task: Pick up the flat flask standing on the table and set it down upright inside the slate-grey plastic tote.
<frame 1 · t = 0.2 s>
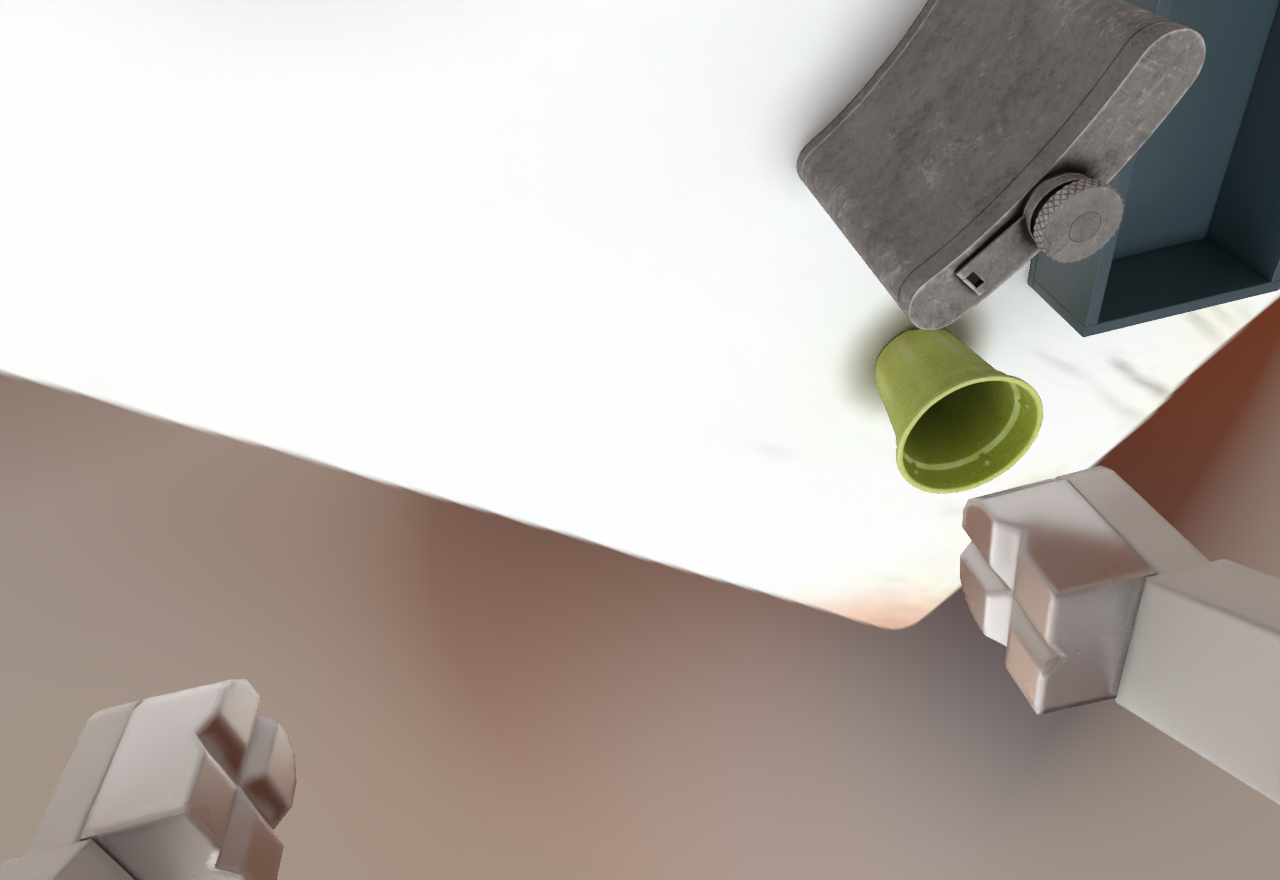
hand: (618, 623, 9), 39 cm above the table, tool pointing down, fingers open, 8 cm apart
flask: (895, 77, 46), on the table
plant pot: (912, 359, 59), on the table
tote: (1155, 102, 49), on the table
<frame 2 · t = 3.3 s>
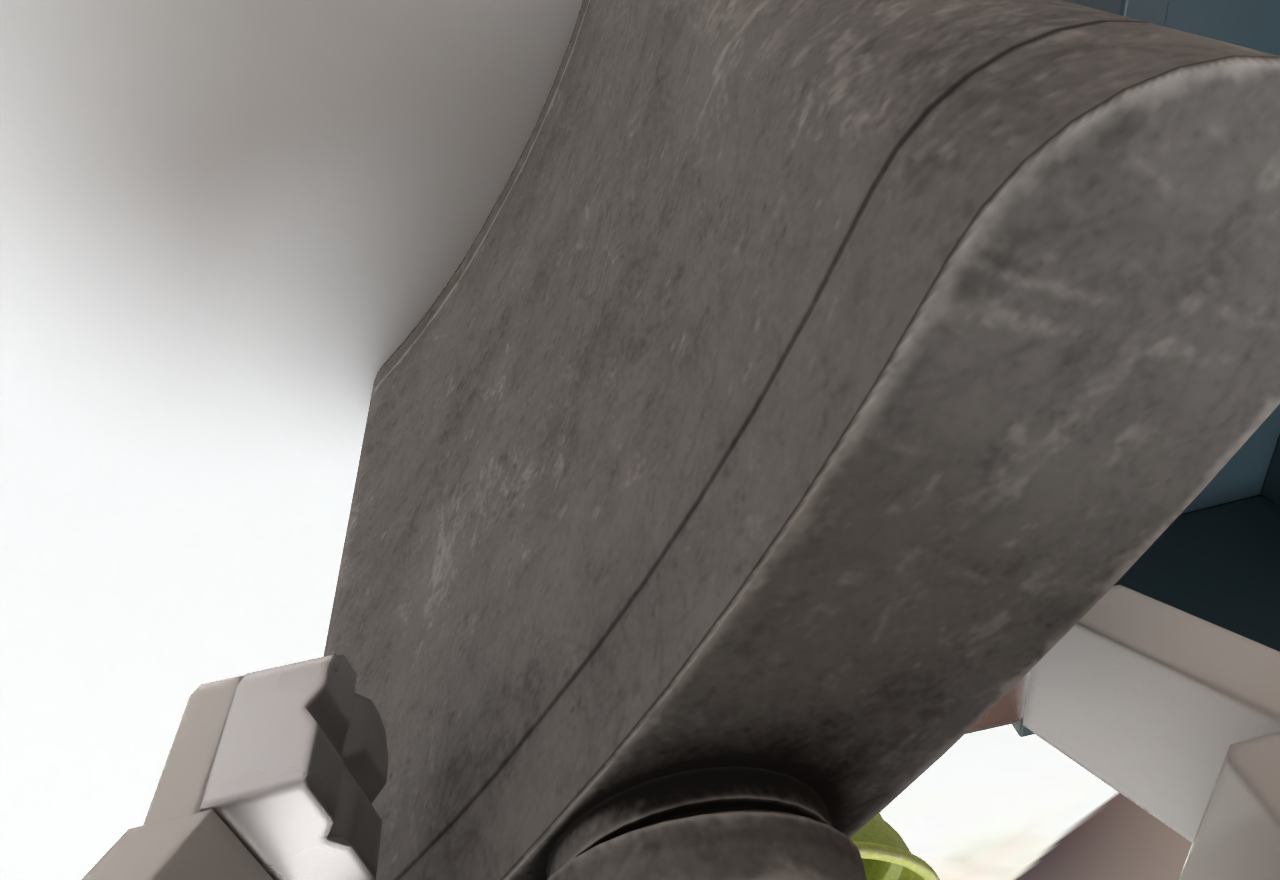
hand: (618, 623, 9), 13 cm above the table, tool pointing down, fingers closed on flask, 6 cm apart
flask: (545, 217, 20), on the table, touching gripper
plant pot: (723, 701, 32), on the table
tote: (1144, 257, 23), on the table
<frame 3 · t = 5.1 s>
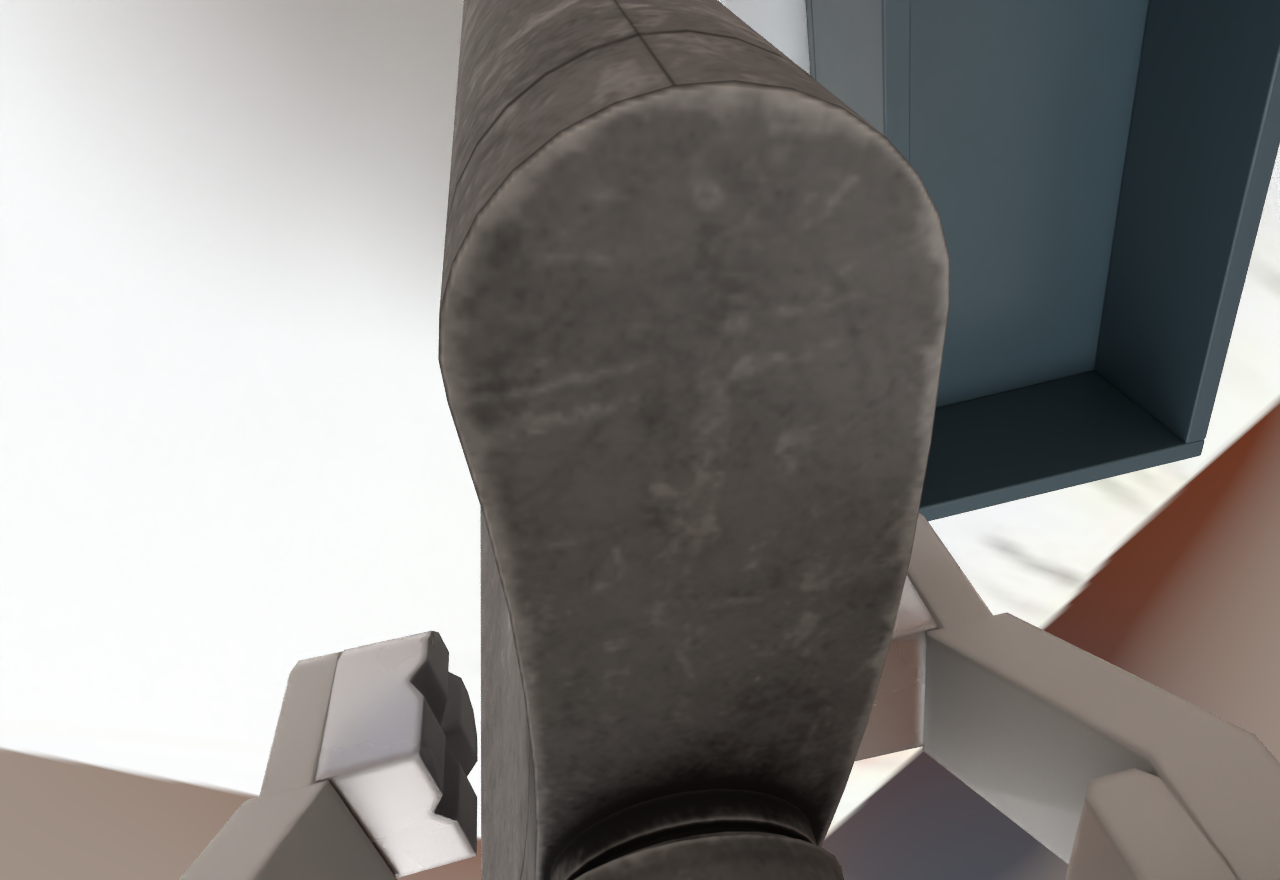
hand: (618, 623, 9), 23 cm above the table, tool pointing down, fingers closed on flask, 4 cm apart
flask: (550, 222, 21), point 10 cm above the table, touching gripper
tote: (978, 171, 32), on the table
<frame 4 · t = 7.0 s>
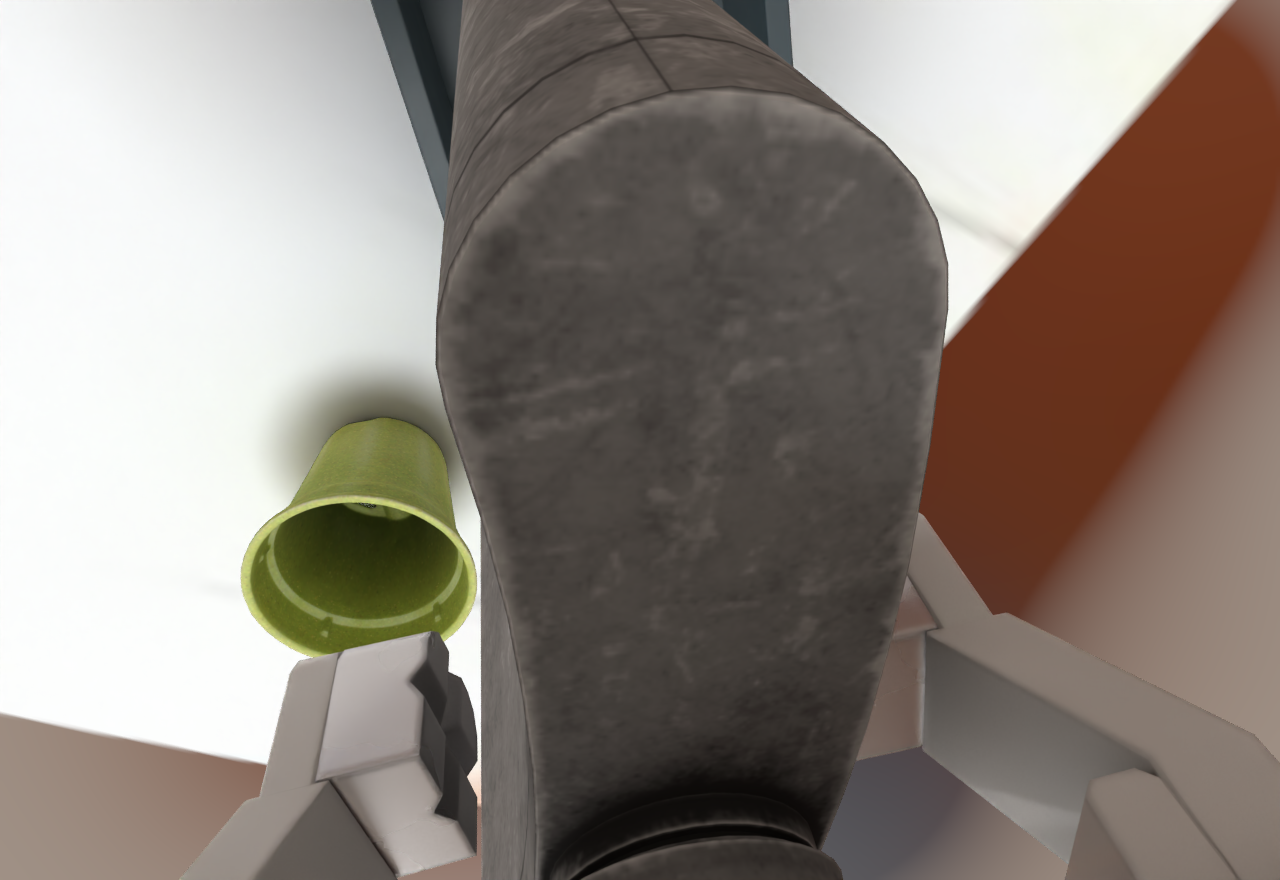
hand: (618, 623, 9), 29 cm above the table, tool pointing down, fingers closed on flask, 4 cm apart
flask: (550, 223, 21), point 15 cm above the table, touching gripper
plant pot: (383, 463, 42), on the table
tote: (592, 90, 33), on the table
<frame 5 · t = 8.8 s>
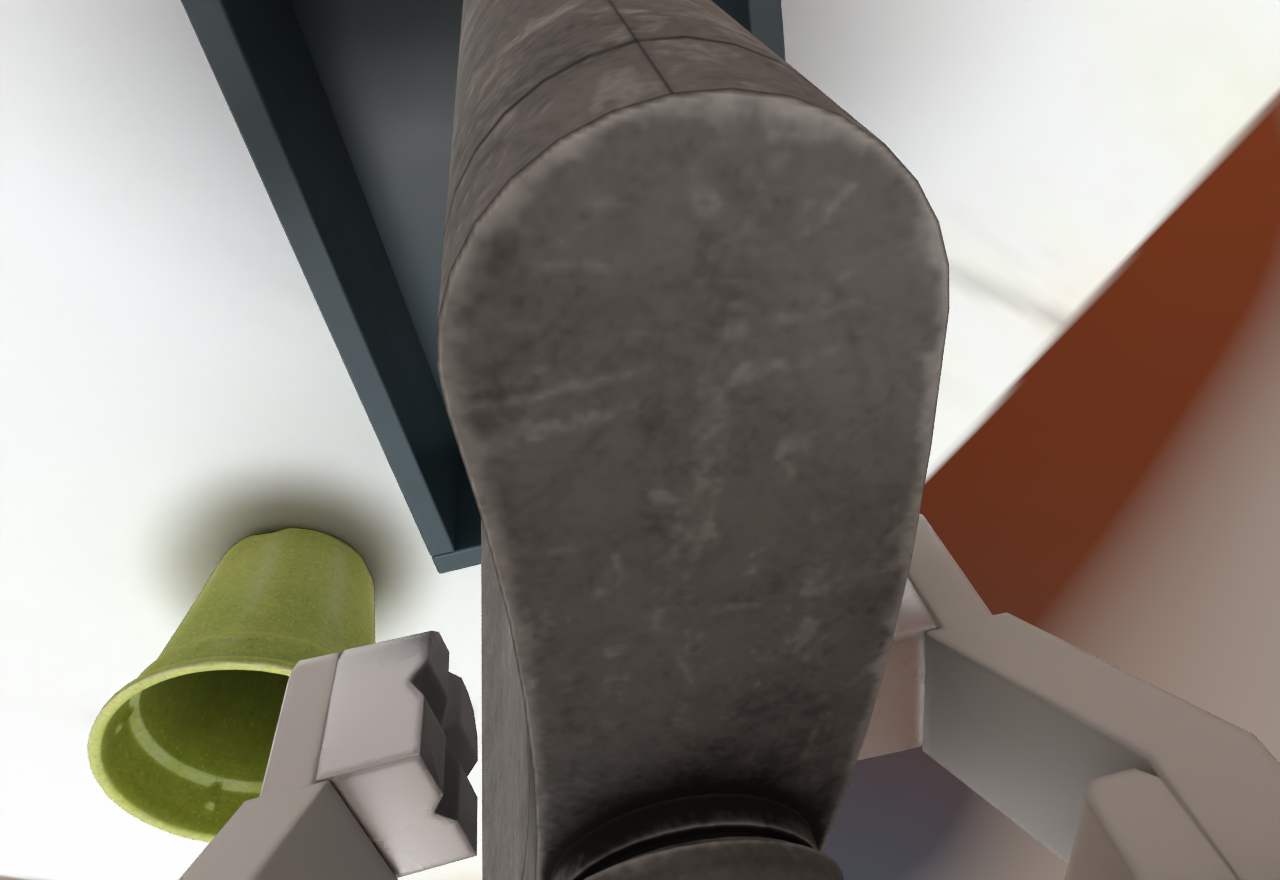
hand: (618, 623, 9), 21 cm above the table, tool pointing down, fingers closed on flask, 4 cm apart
flask: (551, 223, 21), point 7 cm above the table, touching gripper
plant pot: (296, 577, 35), on the table
tote: (535, 140, 26), on the table
when the fingers open (14 cm above the table, at t = 10.6 s): flask stays where it is, resting on tote.
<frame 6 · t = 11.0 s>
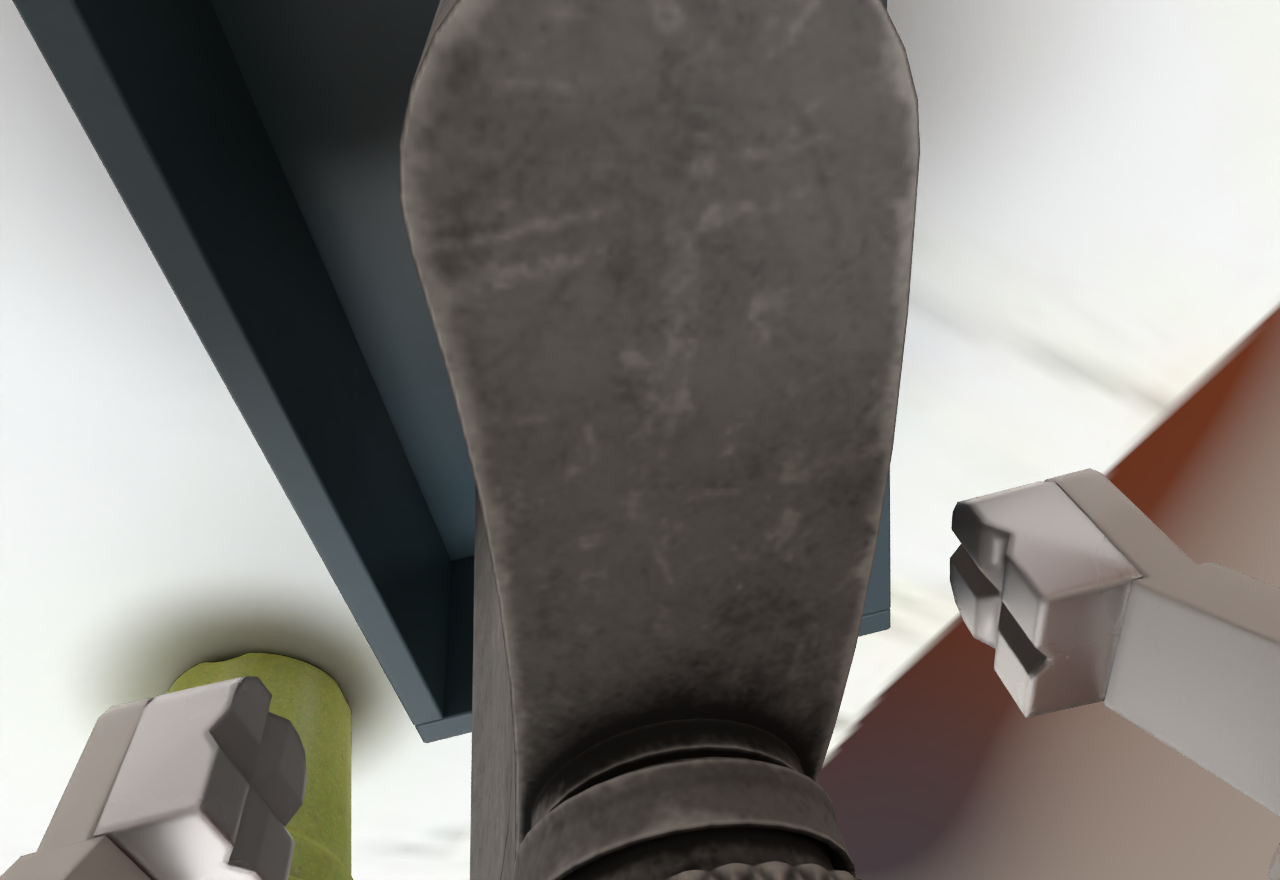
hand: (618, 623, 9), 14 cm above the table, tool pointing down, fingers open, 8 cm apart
flask: (545, 222, 21), resting on tote
plant pot: (260, 703, 30), on the table
tote: (544, 208, 21), on the table
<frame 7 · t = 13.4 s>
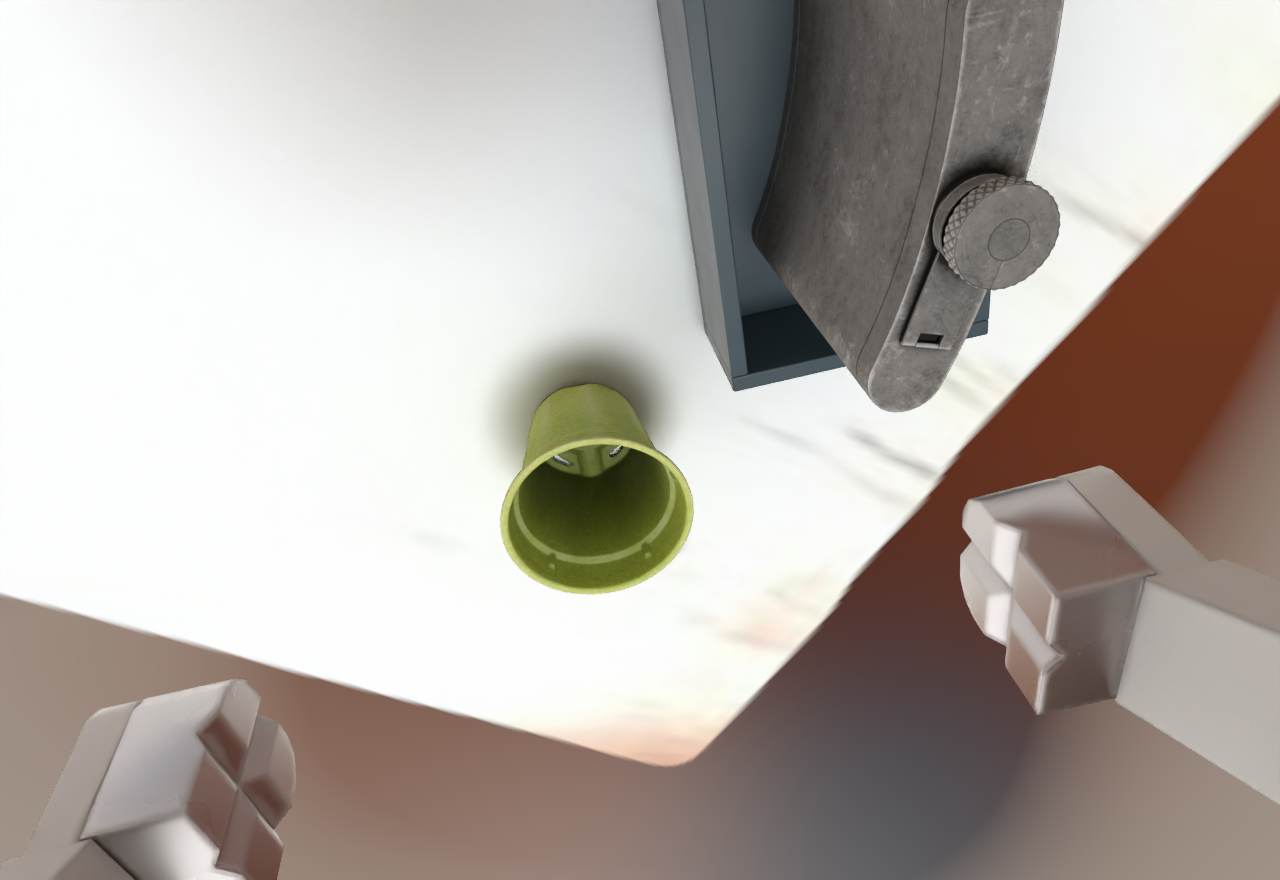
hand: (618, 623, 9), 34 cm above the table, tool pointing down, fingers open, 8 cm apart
flask: (807, 108, 39), resting on tote
plant pot: (582, 426, 48), on the table
tote: (805, 101, 40), on the table
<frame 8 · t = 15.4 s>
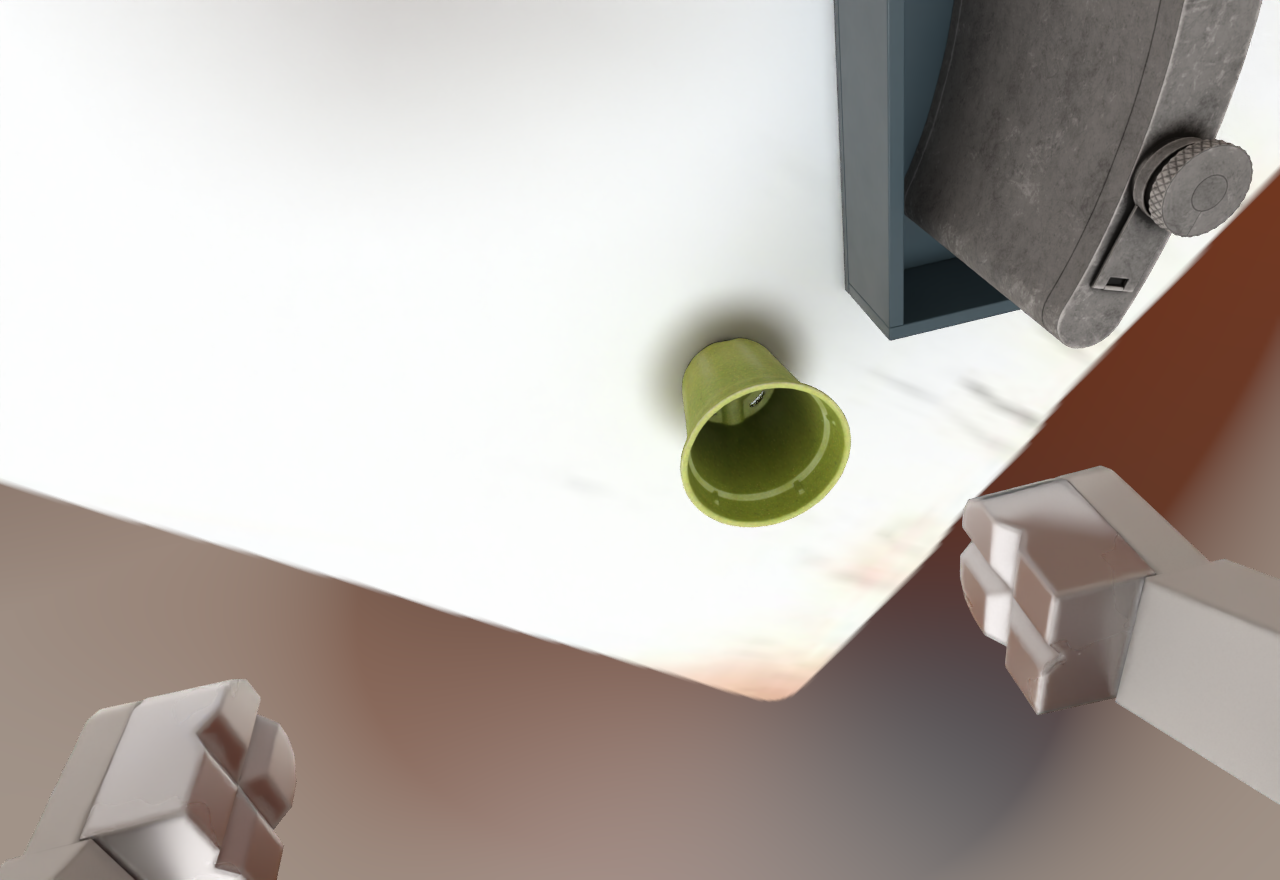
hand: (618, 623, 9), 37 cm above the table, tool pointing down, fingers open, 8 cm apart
flask: (957, 82, 43), resting on tote
plant pot: (727, 378, 52), on the table
tote: (954, 76, 44), on the table
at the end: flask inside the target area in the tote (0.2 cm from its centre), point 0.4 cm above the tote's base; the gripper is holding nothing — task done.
